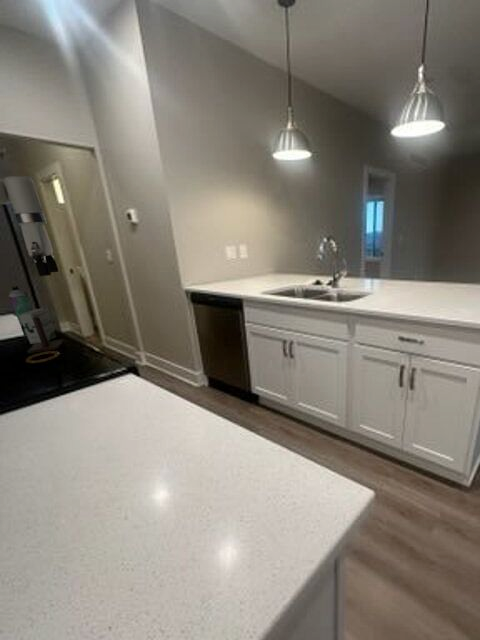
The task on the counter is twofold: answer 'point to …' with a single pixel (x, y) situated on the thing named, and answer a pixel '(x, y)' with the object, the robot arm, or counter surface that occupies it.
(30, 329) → the ink box
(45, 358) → the ring
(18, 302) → the spray can
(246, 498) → the counter surface
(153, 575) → the counter surface
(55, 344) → the peg on round base
